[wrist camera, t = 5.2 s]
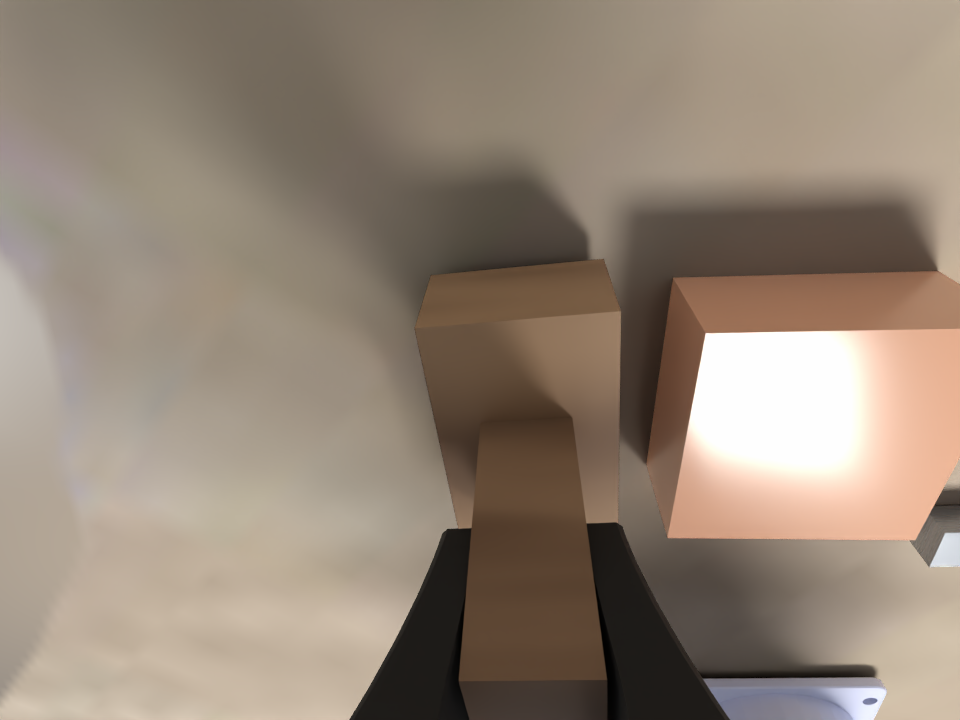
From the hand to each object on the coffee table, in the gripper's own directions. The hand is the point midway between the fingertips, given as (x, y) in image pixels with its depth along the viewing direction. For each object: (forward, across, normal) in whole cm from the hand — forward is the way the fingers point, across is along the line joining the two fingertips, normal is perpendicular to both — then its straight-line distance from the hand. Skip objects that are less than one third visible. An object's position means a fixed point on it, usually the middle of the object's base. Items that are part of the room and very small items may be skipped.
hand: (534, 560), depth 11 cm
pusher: (+5, 0, 0) cm, 5 cm away
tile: (+6, -6, 0) cm, 9 cm away
